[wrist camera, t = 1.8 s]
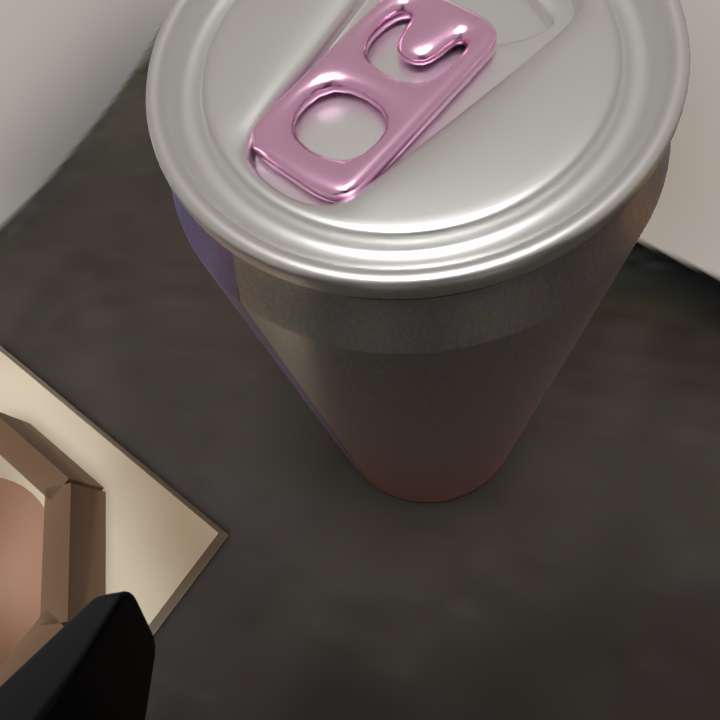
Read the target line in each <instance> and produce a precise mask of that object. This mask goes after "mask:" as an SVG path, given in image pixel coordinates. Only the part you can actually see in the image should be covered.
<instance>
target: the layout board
mask: <svg viewBox="0 0 720 720" xmlns="http://www.w3.org/2000/svg"><path fill="white" fill-rule="evenodd" d="M228 536H229V535H228V534H227V533H226V532H225V531H223V530H222V529H221V528H220V527H219V526H217V525H216V524H215V523H214V522H213V521H211V520H210V519H209V518H208V517H207V516H205V515H204V514H203V513H202V512H201V511H199V510H198V509H197V508H196V507H195V506H193V505H192V504H191V503H190V502H188V501H187V500H186V499H185V498H184V497H182V496H181V495H180V494H179V493H178V492H176V491H175V490H174V489H173V488H172V487H170V486H169V485H168V484H167V483H166V482H164V481H163V480H162V479H161V478H160V477H158V476H157V475H156V474H155V473H154V472H152V471H151V470H150V469H149V468H147V467H146V466H145V465H144V464H143V463H141V462H140V461H139V460H138V459H137V458H135V457H134V456H133V455H132V454H131V453H129V452H128V451H127V450H126V449H125V448H123V447H122V446H121V445H120V444H119V443H117V442H116V441H115V440H114V439H112V438H111V437H110V436H109V435H108V434H106V433H105V432H104V431H103V430H102V429H100V428H99V427H98V426H97V425H96V424H94V423H93V422H92V421H91V420H90V419H88V418H87V417H86V416H85V415H84V414H82V413H81V412H80V411H79V410H78V409H76V408H75V407H74V406H73V405H71V404H70V403H69V402H68V401H67V400H65V399H64V398H63V397H62V396H61V395H59V394H58V393H57V392H56V391H55V390H53V389H52V388H51V387H50V386H49V385H47V384H46V383H45V382H44V381H43V380H41V379H40V378H39V377H38V376H37V375H35V374H34V373H33V372H32V371H30V370H29V369H28V368H27V367H26V366H24V365H23V364H22V363H21V362H20V361H18V360H17V359H16V358H15V357H14V356H12V355H11V354H10V353H9V352H8V351H6V350H5V349H4V348H3V347H2V346H0V686H1V685H2V684H3V683H4V682H5V681H6V680H7V679H8V678H10V677H11V676H12V675H13V674H14V673H15V672H16V671H17V670H18V669H19V668H20V667H21V666H22V665H23V664H24V663H25V662H27V661H28V660H29V659H30V658H31V657H32V656H33V655H34V654H35V653H36V652H37V651H38V650H39V649H40V648H41V647H42V646H44V645H45V644H46V643H47V642H48V641H49V640H50V639H51V638H52V637H53V636H54V635H55V634H56V633H57V632H58V631H59V630H61V629H62V628H63V627H64V626H65V625H66V624H67V623H68V622H69V621H70V620H71V619H72V618H73V617H74V616H75V615H76V614H78V613H79V612H80V611H81V610H82V609H83V608H84V607H85V606H86V605H87V604H88V603H89V602H90V601H91V600H93V599H94V598H95V597H97V596H100V595H104V594H110V593H116V592H122V591H126V592H130V593H131V594H132V595H134V597H135V598H136V600H137V602H138V604H139V607H140V609H141V611H142V613H143V615H144V617H145V619H146V621H147V623H148V625H149V627H150V630H151V632H152V634H153V635H154V634H155V633H156V631H157V630H158V629H159V627H160V626H161V625H162V624H163V622H164V621H165V620H166V618H167V617H168V616H169V614H170V613H171V612H172V610H173V609H174V608H175V606H176V605H177V604H178V602H179V601H180V600H181V598H182V597H183V596H184V594H185V593H186V592H187V590H188V589H189V588H190V586H191V585H192V584H193V582H194V581H195V580H196V578H197V577H198V576H199V574H200V573H201V572H202V570H203V569H204V568H205V566H206V565H207V564H208V562H209V561H210V560H211V558H212V557H213V556H214V554H215V553H216V552H217V550H218V549H219V548H220V546H221V545H222V544H223V542H224V541H225V540H226V538H227V537H228Z"/></svg>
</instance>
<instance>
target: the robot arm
mask: <svg viewBox="0 0 720 720" xmlns="http://www.w3.org/2000/svg"><path fill="white" fill-rule="evenodd" d="M154 658H155V641H154V637H153V634H152V632H151V630H150V627H149V625H148V623H147V621H146V619H145V617H144V615H143V613H142V611H141V609H140V607H139V604H138V602H137V600H136V598H135V597H134V595H132V594H131V593H130V592H126V591H122V592H116V593H110V594H104V595H100V596H97V597H95V598H94V599H93V600H91V601H90V602H89V603H88V604H87V605H86V606H85V607H84V608H83V609H82V610H81V611H80V612H79V613H78V614H76V615H75V616H74V617H73V618H72V619H71V620H70V621H69V622H68V623H67V624H66V625H65V626H64V627H63V628H62V629H61V630H59V631H58V632H57V633H56V634H55V635H54V636H53V637H52V638H51V639H50V640H49V641H48V642H47V643H46V644H45V645H44V646H42V647H41V648H40V649H39V650H38V651H37V652H36V653H35V654H34V655H33V656H32V657H31V658H30V659H29V660H28V661H27V662H25V663H24V664H23V665H22V666H21V667H20V668H19V669H18V670H17V671H16V672H15V673H14V674H13V675H12V676H11V677H10V678H8V679H7V680H6V681H5V682H4V683H3V684H2V685H1V686H0V720H145V717H146V710H147V704H148V697H149V691H150V684H151V678H152V671H153V665H154Z"/></svg>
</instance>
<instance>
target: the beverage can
mask: <svg viewBox="0 0 720 720" xmlns="http://www.w3.org/2000/svg"><path fill="white" fill-rule="evenodd" d="M689 75H690V45H689V36H688V31H687V25H686V20H685V16H684V13H683V10H682V6H681V3H680V0H175V1H174V3H173V5H172V6H171V8H170V10H169V12H168V14H167V16H166V18H165V20H164V22H163V24H162V26H161V28H160V31H159V33H158V36H157V38H156V41H155V44H154V48H153V51H152V54H151V59H150V63H149V68H148V76H147V84H146V113H147V122H148V128H149V133H150V138H151V141H152V145H153V148H154V151H155V155H156V157H157V160H158V162H159V165H160V167H161V170H162V172H163V174H164V175H165V177H166V179H167V181H168V183H169V185H170V187H171V189H172V193H173V198H174V203H175V207H176V210H177V214H178V217H179V220H180V222H181V225H182V227H183V230H184V232H185V235H186V236H187V238H188V240H189V242H190V244H191V246H192V248H193V250H194V251H195V253H196V254H197V256H198V257H199V259H200V260H201V262H202V263H203V265H204V266H205V267H206V269H207V270H208V271H209V273H210V274H211V275H212V277H213V278H214V279H215V281H216V282H217V283H218V285H219V286H220V288H221V289H222V290H223V292H224V293H225V294H226V296H227V297H228V298H229V300H230V301H231V302H232V304H233V305H234V306H235V308H236V309H237V310H238V312H239V313H240V314H241V316H242V317H243V318H244V320H245V321H246V322H247V324H248V325H249V327H250V328H251V329H252V331H253V332H254V333H255V335H256V336H257V337H258V339H259V340H260V341H261V343H262V344H263V345H264V347H265V348H266V349H267V351H268V352H269V353H270V355H271V356H272V357H273V359H274V360H275V361H276V363H277V364H278V366H279V367H280V368H281V370H282V371H283V372H284V374H285V375H286V376H287V378H288V379H289V380H290V382H291V383H292V384H293V386H294V387H295V388H296V390H297V391H298V392H299V394H300V395H301V396H302V398H303V399H304V400H305V402H306V403H307V405H308V406H309V407H310V409H311V410H312V411H313V413H314V414H315V415H316V417H317V418H318V419H319V421H320V422H321V423H322V425H323V426H324V427H325V429H326V430H327V431H328V433H329V434H330V435H331V437H332V438H333V440H334V441H335V442H336V444H337V445H338V446H339V448H340V449H341V450H342V452H343V453H344V454H345V456H346V457H347V458H348V460H349V461H350V462H351V464H352V465H353V466H354V467H355V469H356V470H357V471H358V472H359V473H360V474H361V475H362V476H363V477H364V478H365V479H366V480H367V481H369V482H370V483H371V484H372V485H374V486H375V487H377V488H378V489H380V490H382V491H384V492H386V493H388V494H390V495H393V496H395V497H398V498H401V499H405V500H410V501H416V502H439V501H445V500H450V499H454V498H457V497H460V496H463V495H465V494H467V493H469V492H471V491H473V490H475V489H477V488H478V487H480V486H481V485H483V484H484V483H485V482H487V481H488V480H489V479H490V478H491V477H492V476H493V475H494V474H495V473H496V472H497V471H498V470H499V469H500V467H501V466H502V465H503V463H504V462H505V460H506V459H507V457H508V455H509V454H510V452H511V450H512V449H513V447H514V445H515V444H516V442H517V440H518V439H519V437H520V435H521V434H522V432H523V430H524V429H525V427H526V425H527V424H528V422H529V420H530V419H531V417H532V415H533V414H534V412H535V410H536V409H537V407H538V405H539V404H540V402H541V400H542V399H543V397H544V395H545V394H546V392H547V390H548V389H549V387H550V385H551V384H552V382H553V380H554V379H555V377H556V375H557V374H558V372H559V370H560V369H561V367H562V365H563V364H564V362H565V360H566V359H567V357H568V355H569V354H570V352H571V350H572V349H573V347H574V345H575V344H576V342H577V340H578V339H579V337H580V335H581V334H582V332H583V330H584V329H585V327H586V325H587V324H588V322H589V320H590V319H591V317H592V315H593V314H594V312H595V310H596V309H597V307H598V305H599V304H600V302H601V300H602V299H603V297H604V295H605V293H606V292H607V290H608V288H609V287H610V285H611V283H612V282H613V280H614V278H615V277H616V275H617V273H618V272H619V270H620V268H621V267H622V265H623V263H624V262H625V260H626V258H627V257H628V255H629V253H630V252H631V250H632V248H633V247H634V245H635V243H636V242H637V240H638V238H639V237H640V235H641V233H642V232H643V230H644V228H645V227H646V225H647V223H648V222H649V220H650V218H651V216H652V213H653V211H654V209H655V207H656V205H657V203H658V200H659V197H660V194H661V192H662V189H663V186H664V182H665V178H666V174H667V170H668V164H669V157H670V147H671V140H672V138H673V136H674V133H675V131H676V128H677V125H678V123H679V120H680V117H681V114H682V111H683V107H684V103H685V99H686V95H687V89H688V83H689Z"/></svg>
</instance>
